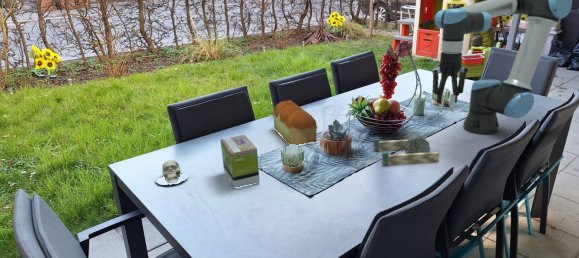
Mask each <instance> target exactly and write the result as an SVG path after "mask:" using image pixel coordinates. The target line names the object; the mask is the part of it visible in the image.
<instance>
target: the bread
mask: <svg viewBox="0 0 579 258" xmlns="http://www.w3.org/2000/svg"><path fill="white" fill-rule="evenodd" d="M272 117H273V128H275V129H276V130H277V131H278V132H279V133H280V134H281V135H282V136H283V138H284V139H285V140H286V141H287V142H288V143H289V144H296V145H299V144H304V143H309V142H316V141H317V142H318V140H317V129H318V124H317V121H316V119H315V118H314V117H313V116H312V115H311V114H310V113H309V112H307V111H306V110H305V109H303V108H302V107H301V106H299V105H298V104H296V103H295V102H294V101H292V100H291V99H289V100H282V101H279V102H278V104H276V105H275V106H274V108H273V111H272ZM283 138H282V139H283ZM284 139H283V140H284ZM285 140H284V141H285ZM286 141H285V142H286ZM287 142H286V143H287ZM288 143H287V144H288ZM289 144H288V145H289Z"/></svg>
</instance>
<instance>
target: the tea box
mask: <svg viewBox="0 0 579 258" xmlns="http://www.w3.org/2000/svg"><path fill="white" fill-rule="evenodd" d="M220 147H221V155H222V165H223V172H224V171H225V173H226V175H227V176H226V175H225V176H226V178H227V177H228V178H229V179H228V178H227V179H228V181H229V180H230V181H229V182H231V183H232V184H231V183H230V184H231V186H232V185H233V186H234V187H240V186H244V185H249V184H254V183H259V182H260V181H261V180H260V171H259V170H260V169H259V159H258V158H259V157H258V148H257V147H256V145H255V144H253V142H252V140H251V141H250V139H249V138H248V137H247V136H246V135H245V134H240V135H237V136H231V137H227V138H221V139H220ZM225 173H224V174H225ZM259 184H260V183H259ZM233 186H232V187H233ZM234 187H233V188H234Z"/></svg>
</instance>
